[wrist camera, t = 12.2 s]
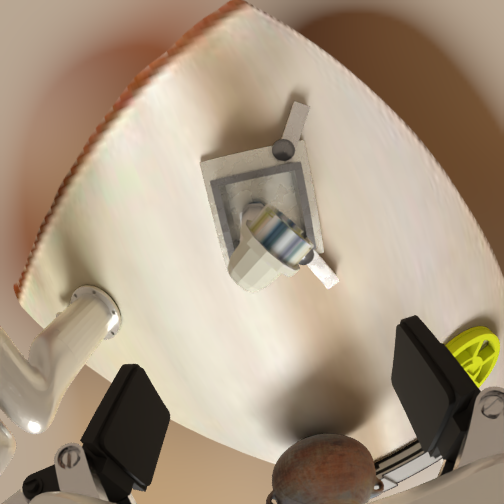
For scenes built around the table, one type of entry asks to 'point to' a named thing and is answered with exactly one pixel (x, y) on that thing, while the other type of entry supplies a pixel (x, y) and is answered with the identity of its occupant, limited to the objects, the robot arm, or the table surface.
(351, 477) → the clay pot
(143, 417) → the robot arm
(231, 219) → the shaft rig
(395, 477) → the game console
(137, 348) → the table surface
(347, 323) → the table surface
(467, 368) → the pulley
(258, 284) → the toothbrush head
